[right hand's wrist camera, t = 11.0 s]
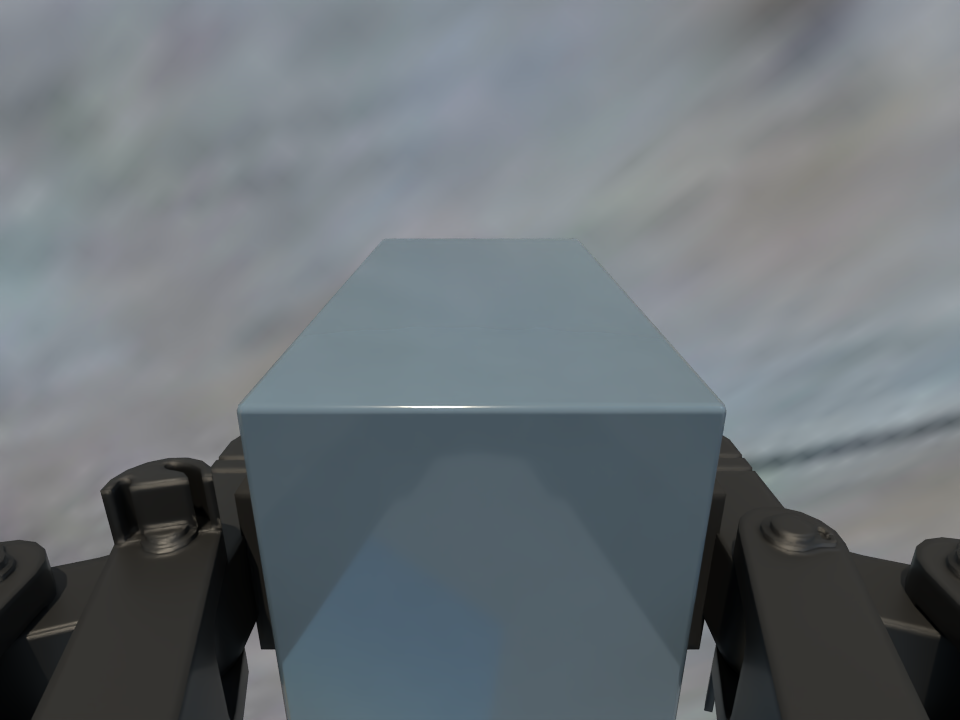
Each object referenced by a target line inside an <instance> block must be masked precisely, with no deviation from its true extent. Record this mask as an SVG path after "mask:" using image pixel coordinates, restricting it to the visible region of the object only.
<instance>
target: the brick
mask: <svg viewBox="0 0 960 720" xmlns="http://www.w3.org/2000/svg"><path fill="white" fill-rule="evenodd" d="M237 416H238V423H239V429H240V435H241V441H242V447H243V453H244V459H245V466H246V472H247V478H248V484H249V490H250V496H251V502H252V509H253V515H254V521H255V527H256V533H257V539H258V545H259V552H260V558H261V564H262V570H263V576H264V582H265V588H266V595H267V601H268V607H269V613H270V619H271V625H272V631H273V638H274V644H275V650H276V656H277V662H278V668H279V674H280V681H281V687H282V693H283V699H284V705H285V711H286V717H287V720H676V714H677V708H678V702H679V696H680V690H681V684H682V678H683V672H684V666H685V660H686V654H687V648H688V641H689V635H690V629H691V623H692V617H693V611H694V605H695V599H696V593H697V587H698V581H699V575H700V569H701V563H702V557H703V551H704V544H705V538H706V532H707V526H708V520H709V514H710V508H711V502H712V496H713V490H714V484H715V478H716V472H717V466H718V460H719V454H720V447H721V441H722V435H723V429H724V423H725V417H726V408H725V405H724V404H723V402H722V401H721V400H720V399H719V398H718V397H717V396H716V394H715V393H714V392H713V391H712V390H711V389H710V388H709V387H708V385H707V384H706V383H705V382H704V381H703V380H702V379H701V378H700V376H699V375H698V374H697V373H696V372H695V371H694V370H693V369H692V367H691V366H690V365H689V364H688V363H687V362H686V361H685V359H684V358H683V357H682V356H681V355H680V354H679V353H678V352H677V350H676V349H675V348H674V347H673V346H672V345H671V344H670V343H669V341H668V340H667V339H666V338H665V337H664V336H663V335H662V333H661V332H660V331H659V330H658V329H657V328H656V327H655V326H654V324H653V323H652V322H651V321H650V320H649V319H648V318H647V317H646V315H645V314H644V313H643V312H642V311H641V310H640V309H639V307H638V306H637V305H636V304H635V303H634V302H633V301H632V300H631V298H630V297H629V296H628V295H627V294H626V293H625V292H624V291H623V289H622V288H621V287H620V286H619V285H618V284H617V283H616V282H615V280H614V279H613V278H612V277H611V276H610V275H609V274H608V272H607V271H606V270H605V269H604V268H603V267H602V266H601V265H600V263H599V262H598V261H597V260H596V259H595V258H594V257H593V256H592V254H591V253H590V252H589V251H588V250H587V249H586V248H585V246H584V245H583V244H582V243H581V242H580V241H579V240H578V239H384V240H382V241H381V242H380V243H379V245H378V246H377V247H376V248H375V249H374V250H373V251H372V253H371V254H370V255H369V256H368V257H367V258H366V259H365V261H364V262H363V263H362V264H361V265H360V266H359V267H358V269H357V270H356V271H355V272H354V273H353V274H352V275H351V277H350V278H349V279H348V280H347V281H346V282H345V283H344V285H343V286H342V287H341V288H340V289H339V290H338V291H337V293H336V294H335V295H334V296H333V297H332V298H331V300H330V301H329V302H328V303H327V304H326V305H325V306H324V308H323V309H322V310H321V311H320V312H319V313H318V314H317V316H316V317H315V318H314V319H313V320H312V321H311V322H310V324H309V325H308V326H307V327H306V328H305V329H304V330H303V332H302V333H301V334H300V335H299V336H298V337H297V338H296V340H295V341H294V342H293V343H292V344H291V345H290V346H289V348H288V349H287V350H286V351H285V352H284V353H283V354H282V356H281V357H280V358H279V359H278V360H277V361H276V362H275V364H274V365H273V366H272V367H271V368H270V369H269V370H268V372H267V373H266V374H265V375H264V376H263V377H262V378H261V380H260V381H259V382H258V383H257V384H256V385H255V386H254V388H253V389H252V390H251V391H250V392H249V393H248V394H247V396H246V397H245V398H244V399H243V400H242V401H241V402H240V404H239V405H238V408H237Z"/></svg>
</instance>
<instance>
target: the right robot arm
mask: <svg viewBox="0 0 960 720" xmlns="http://www.w3.org/2000/svg"><path fill="white" fill-rule="evenodd" d="M100 492H101V495H102V499H103V503H104V507H105V510H106V514H107V518H108V521H109V525H110V529H111V533H112V536H113V540H114V544H115V545H114V547H113V549H112V551H111V553H110V555H107V556H104V557H100V558H95V559H90V560H85V561H80V562H75V563H70V564H65V565H60V566H55V567H51V566H50V563H49V560H48V557H47V554H46V551H45V549H44V548H43V547H41V546H40V545H39V544H37V543H36V542H31V541H23V540H15V541H6V542H0V720H243V716H244V707H245V699H246V690H247V682H248V673H249V671H248V664H247V658H246V652H245V645H246V642H247V640H248V638H249V636H250V634H251V631H252V629H253V627H254V625H255V623H257V628H258V634H259V640H260V646H261V649H275V644H274V638H273V631H272V625H271V619H270V613H269V607H268V601H267V595H266V588H265V582H264V576H263V570H262V564H261V558H260V552H259V545H258V539H257V533H256V527H255V521H254V515H253V509H252V502H251V496H250V490H249V484H248V478H247V472H246V466H245V459H244V453H243V447H242V441H241V436H239V437H238V438H236V439H235V440H233V441H231V442H230V444H229V445H228V446H227V447H226V449H225V450H224V451H223V453H222V454H221V455H220V456H219V460H216V461H215V463H214V464H213V465H212V466H211V467H210V466H208V465H207V464H206V463H204V462H203V461H201V460H196V459H191V458H167V459H162V460H157V461H152V462H147V463H145V464H142V465H139V466H136V467H134V468H131V469H128V470H126V471H125V472H123V473H121V474H120V475H118V476H116V477H115V478H113V479H111V480H110V481H109V482H108V483H107V484H106V485H105V486H104V487H103V488H102V490H101V491H100ZM704 619H705V621H706V623H707V625H708V627H709V630H710V632H711V634H712V636H713V638H714V641H715V643H716V647H715V652H714V658H713V663H712V668H711V674H710V679H709V684H708V690H707V695H706V701H705V708H704V710H705V711H709V712H712V711H713V706H714V701H715V706H716V714H717V720H960V539H952V538H944V537H941V538H933V539H926V540H924V541H923V542H922V543H920V544H919V545H918V546H916V549H915V553H914V556H913V559H912V562H911V565H908V564H903V563H898V562H893V561H888V560H883V559H878V558H873V557H868V556H863V555H859V554H856V553H852V552H849V550H848V548H847V546H846V544H845V542H844V541H843V540H842V538H841V537H840V536H839V535H838V533H837V532H836V531H835V530H833V529H832V528H830V527H829V526H827V525H826V524H825V523H823V522H822V521H820V520H818V519H816V518H813V517H811V516H809V515H806V514H804V513H802V512H798V511H794V510H790V509H785V508H784V507H783V506H782V504H781V503H780V502H779V501H778V499H777V498H776V497H775V496H774V494H773V493H772V492H771V491H770V489H769V488H768V487H767V486H766V484H765V483H764V482H763V481H762V479H761V478H760V477H759V476H758V474H757V473H756V472H755V471H752V467H751V466H750V464H749V463H748V462H747V461H746V459H745V458H742V454H741V453H740V452H739V451H738V449H737V448H736V447H735V446H734V444H733V443H732V442H731V441H730V440H729V439H728V438H726V437H725V436H723V435H722V441H721V447H720V454H719V460H718V466H717V472H716V478H715V484H714V490H713V496H712V502H711V508H710V514H709V520H708V526H707V532H706V538H705V544H704V551H703V557H702V563H701V569H700V575H699V581H698V587H697V593H696V599H695V605H694V611H693V617H692V623H691V629H690V635H689V641H688V648H687V649H699V648H700V642H701V636H702V631H703V625H704Z"/></svg>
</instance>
